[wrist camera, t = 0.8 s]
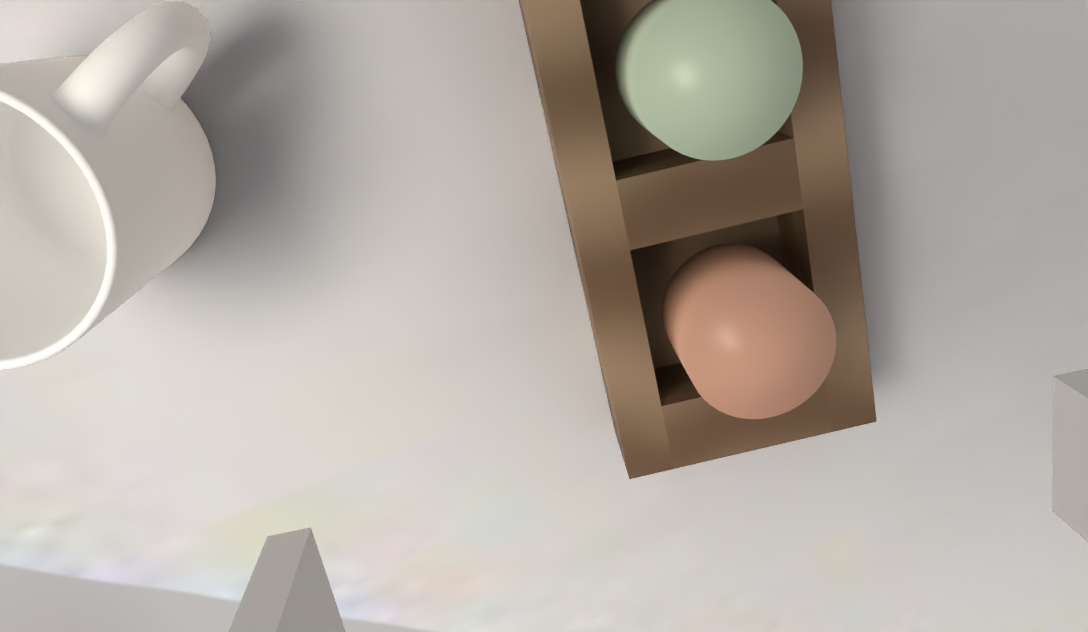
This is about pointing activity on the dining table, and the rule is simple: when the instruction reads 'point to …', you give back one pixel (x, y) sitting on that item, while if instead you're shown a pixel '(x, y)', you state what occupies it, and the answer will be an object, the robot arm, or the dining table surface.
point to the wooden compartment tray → (697, 231)
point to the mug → (98, 178)
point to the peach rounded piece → (747, 331)
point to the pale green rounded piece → (710, 74)
